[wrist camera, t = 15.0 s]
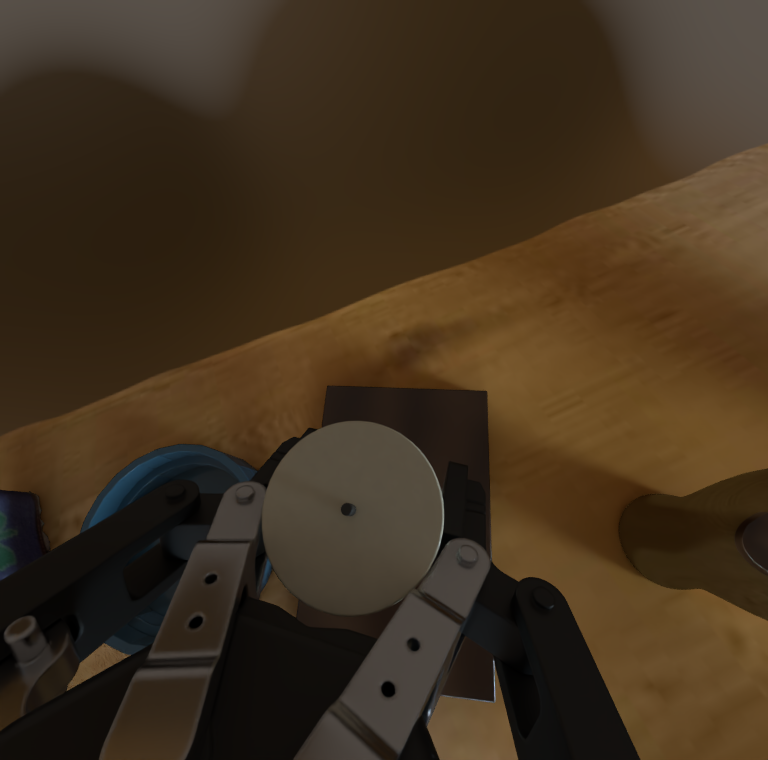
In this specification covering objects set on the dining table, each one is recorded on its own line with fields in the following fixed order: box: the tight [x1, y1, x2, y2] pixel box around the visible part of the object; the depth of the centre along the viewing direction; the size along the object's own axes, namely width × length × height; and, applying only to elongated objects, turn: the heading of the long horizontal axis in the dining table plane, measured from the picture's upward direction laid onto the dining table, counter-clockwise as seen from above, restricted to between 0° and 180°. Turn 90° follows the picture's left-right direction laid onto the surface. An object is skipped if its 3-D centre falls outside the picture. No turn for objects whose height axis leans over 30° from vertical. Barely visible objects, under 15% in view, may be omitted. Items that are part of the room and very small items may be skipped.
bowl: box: [80, 444, 273, 655], centre depth 27 cm, size 13×13×4 cm
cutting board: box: [296, 386, 495, 703], centre depth 28 cm, size 13×20×2 cm, turn 176°
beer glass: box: [619, 468, 768, 621], centre depth 19 cm, size 7×7×15 cm
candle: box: [262, 421, 444, 617], centre depth 14 cm, size 5×5×10 cm
